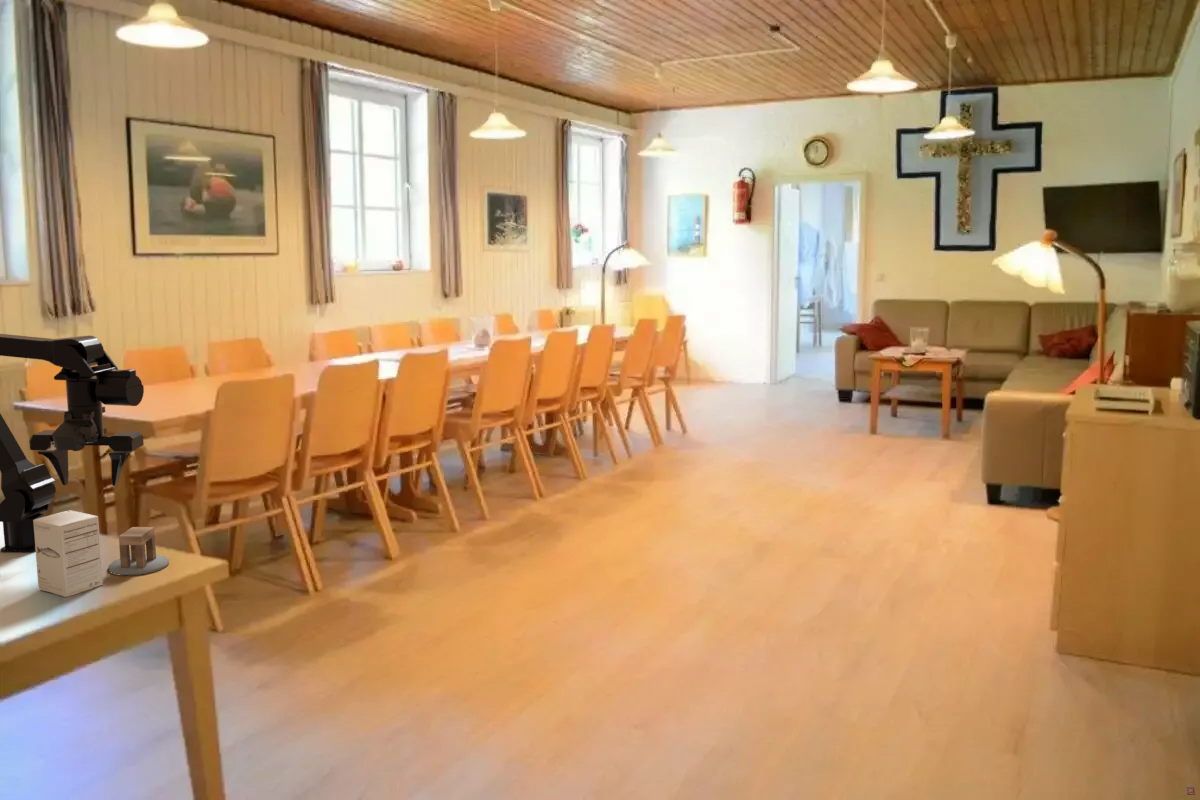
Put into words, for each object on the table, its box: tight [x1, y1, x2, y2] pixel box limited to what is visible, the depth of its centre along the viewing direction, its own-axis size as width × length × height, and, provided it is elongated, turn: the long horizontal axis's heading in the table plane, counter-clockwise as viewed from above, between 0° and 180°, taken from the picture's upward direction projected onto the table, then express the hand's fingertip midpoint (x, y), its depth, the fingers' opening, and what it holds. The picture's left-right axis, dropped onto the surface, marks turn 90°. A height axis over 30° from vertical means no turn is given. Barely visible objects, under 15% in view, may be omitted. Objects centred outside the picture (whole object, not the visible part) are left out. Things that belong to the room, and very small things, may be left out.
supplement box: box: [33, 509, 103, 598], centre depth 171 cm, size 7×7×13 cm
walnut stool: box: [118, 526, 157, 568], centre depth 183 cm, size 6×4×6 cm
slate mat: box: [108, 554, 170, 576], centre depth 183 cm, size 10×10×1 cm
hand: (90, 485), depth 190 cm, fingers open, 9 cm apart
